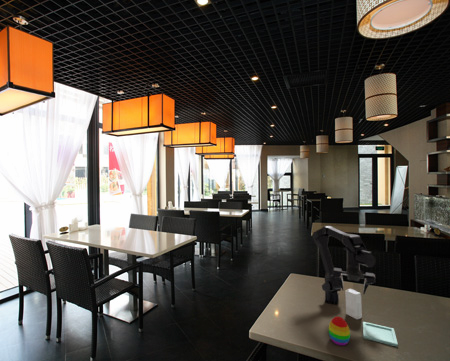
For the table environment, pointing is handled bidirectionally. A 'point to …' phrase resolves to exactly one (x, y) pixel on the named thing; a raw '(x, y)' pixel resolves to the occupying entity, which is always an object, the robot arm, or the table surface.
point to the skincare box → (353, 303)
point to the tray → (379, 334)
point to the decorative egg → (339, 331)
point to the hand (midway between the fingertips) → (353, 292)
